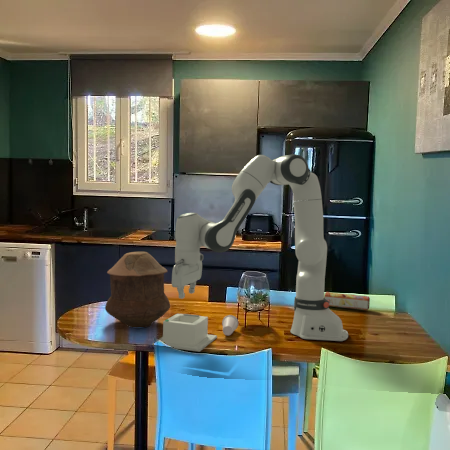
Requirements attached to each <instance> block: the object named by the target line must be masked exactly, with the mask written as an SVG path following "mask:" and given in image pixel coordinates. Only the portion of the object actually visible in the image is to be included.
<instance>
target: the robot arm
mask: <svg viewBox="0 0 450 450" xmlns="http://www.w3.org/2000/svg"><path fill="white" fill-rule="evenodd" d="M269 183H271V184H272V185H275V186H287V185H289V187H290V188H291V190H292V191H291V192H292V197H293V199H292V201H293V213H294V222H295V223H294V249H295V256H296V258H297V260H298V262H297V273H296V279H295V280H296V283H295V284H296V285H295V296H294V300H293V309H294V313H293V314H294V315H293V319H292V320H293V321H292V325H291V329H290V330H289V331H290V333H291V334H293V335H295V336H298V337H300V338H301V339H304V340H316V341H335V342H343V341H346V340H347V339H348V338H349V333H348V331H347V330H346V329H344V327H343V321H342V319H341V318H340V317H339V315H337V314H336V313H335V312H333V310H331V309H330V308H329V307H330V306H329V300H326V299H325V298H324V296H325V283H326V282H325V278H326V269H327V268H326V267H327V259H328V258H327V256H328V244H327V241H326V239H325V237H324V210H323V198H322V191H321V190H322V189H321V185H320V181H319V178H318V176H317V175H316V174H315V173H313V172H311V169H310V168H309V164H308V162H307V160H306V159H305V158H304V157H303V156H302V155H300V154H297V153H296V154H295V153H292V154H288V155H287V154H286V155H282V156H279V157H277V158H273V159H271V158H270V157H269V156H266V155H265V154H258V155H256V156H254V157H253V158H252V159H251V160H250V161H249V162H248V163H247V164H246V165H245V166H244V167H243V168H242V169H241V171H240V172H238V174H237V176H236V177H235V178H234V180H233V181H232V184H231V192H232V195H233V197H234V202H233V204H232V206H231V207H230V208H229V210H228V211H227V213H226V214H225V216H224V218H223V219H222V220H221V221H218V222H213V221H210V220H208V219H206V218H204V217H202V216H201V215H199V214H198V213H197V212H187V213H183V214H180V215H179V216H178V217H177V218H176V223H175V232H174V234H175V235H174V236H175V237H174V238H175V244H176V245H175V248H174V263H175V265H173V267H172V273H171V286H172V287H173V288H176V289H177V293H178V299H181V300H183V299H185V298H186V297H185V296H186V293H185V291H184V289H185V286H188V285H189V287H188V294H194V293H195V289H196V285H197V281H198V280H200V279H201V278H202V273H203V272H202V271H203V262H202V261H203V260H204V254H202V253H201V252H200V249H201V247H204V248H206V249H209V250H211V251H213V252H215V253H219V254H220V253H221V254H222V253H225V252H226V251H229V250H230V249H231V248H232V246H233V245H234V243H235V239H236V236H237V232H238V230H239V229H240V227H241V226H242V224H243V222H244V221H245V219H246V218H247V216H249V213H250V211H251V210H252V208H253V206H255V205H254V204H255V203H256V201H257V199H258V198H259V196H260V195H261V194H262V193H263V191H264V190H265V188H266V187H267V186H268V184H269Z"/></svg>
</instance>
